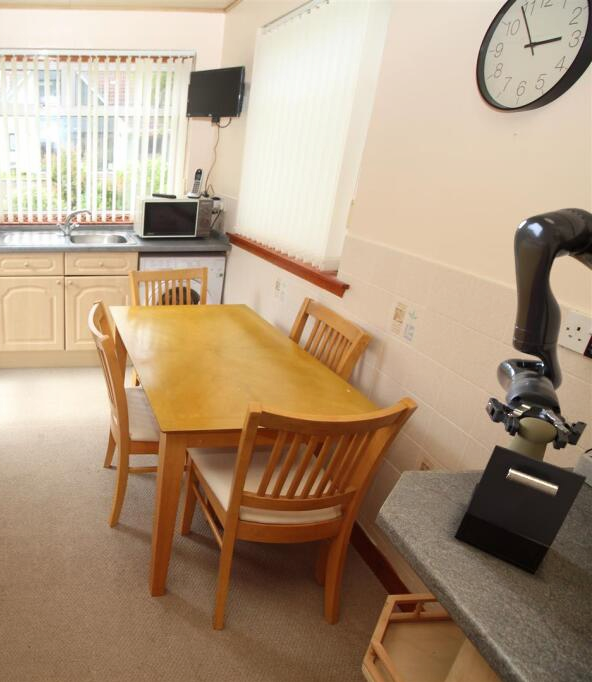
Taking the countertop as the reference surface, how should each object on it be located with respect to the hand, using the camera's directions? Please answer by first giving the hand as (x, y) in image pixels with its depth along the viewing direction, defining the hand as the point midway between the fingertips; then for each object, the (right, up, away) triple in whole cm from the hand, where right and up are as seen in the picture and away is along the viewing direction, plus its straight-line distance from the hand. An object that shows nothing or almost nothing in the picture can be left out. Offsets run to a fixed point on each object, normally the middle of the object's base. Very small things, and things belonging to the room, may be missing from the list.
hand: (536, 437), depth 81 cm
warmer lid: (-8, -8, -6) cm, 12 cm away
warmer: (-5, -18, +2) cm, 19 cm away
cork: (+1, -8, +5) cm, 10 cm away
